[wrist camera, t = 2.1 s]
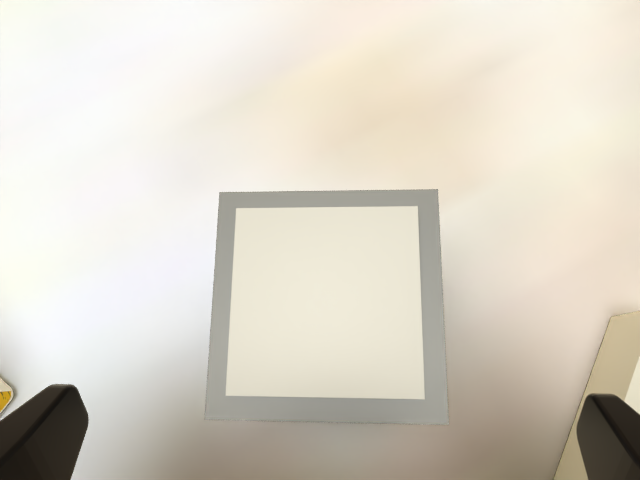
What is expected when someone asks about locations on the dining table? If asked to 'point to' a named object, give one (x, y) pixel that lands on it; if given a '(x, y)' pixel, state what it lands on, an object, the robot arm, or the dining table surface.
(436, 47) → the dining table surface
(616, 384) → the tray
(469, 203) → the dining table surface
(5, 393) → the yellow black printed box
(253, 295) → the grey tall block
